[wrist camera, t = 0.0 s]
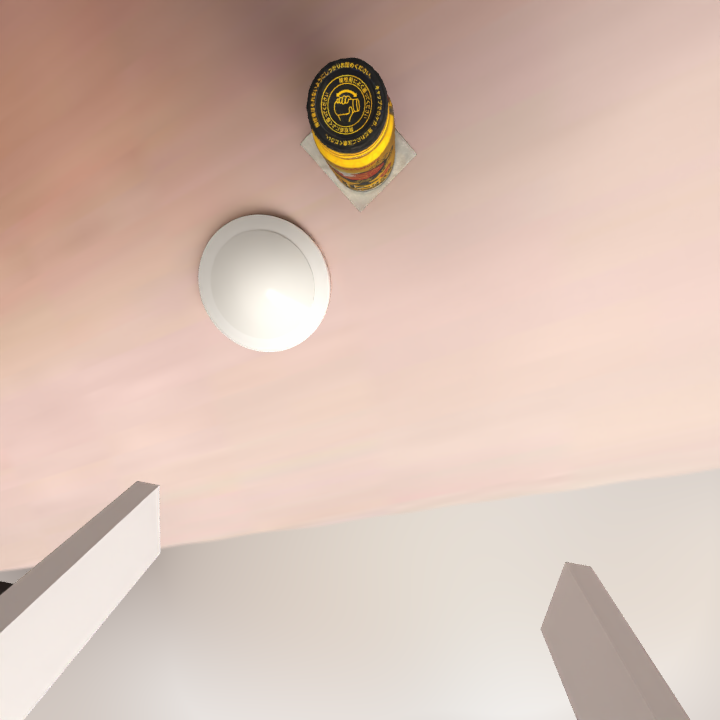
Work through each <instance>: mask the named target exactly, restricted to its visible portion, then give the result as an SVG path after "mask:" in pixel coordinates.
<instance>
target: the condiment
mask: <svg viewBox="0 0 720 720" xmlns="http://www.w3.org/2000/svg"><path fill="white" fill-rule="evenodd" d="M307 112H308V119H309V122H310V125H311V129H312V132H311V133H310V134H309V135H308V136H307V137H306V138H305V139H304V140H303V142H302V143H301V144H300V145H301V146H302V147H303V148H304V149H305V150H306V151H307V152H308V154H309V155H310V156H311V157H312V158H313V159H314V160H315V162H316V163H317V164H318V165H319V166H320V167H321V168H322V170H323V171H324V172H325V173H326V174H327V175H328V176H329V178H330V179H331V180H332V181H333V182H334V183H335V184H336V186H337V187H338V188H339V189H340V190H341V191H342V192H343V193H344V195H345V196H346V197H347V198H348V199H349V200H350V201H351V203H352V204H353V205H354V206H355V207H356V208H357V209H358V210H359V212H361V211H362V210H363V209H364V208H365V207H366V206H367V205H368V204H369V203H370V202H371V201H372V200H373V199H374V198H375V197H376V196H377V195H378V194H379V193H380V192H381V191H382V190H383V189H384V188H385V187H386V186H387V185H388V184H389V183H390V182H391V181H392V180H393V179H394V178H395V177H396V176H397V175H398V174H399V172H400V171H401V170H402V169H403V168H404V167H405V166H406V165H407V164H408V163H409V162H410V161H411V160H412V159H413V158H414V157H415V156H416V155H417V154H416V153H415V152H414V150H413V149H412V148H411V147H410V146H409V145H408V143H407V142H406V141H405V140H404V139H403V137H402V136H401V135H400V134H399V133H398V132H397V130H396V129H395V123H394V112H393V106H392V103H391V101H390V98H389V97H388V95H387V91H386V88H385V85H384V83H383V81H382V79H381V77H380V76H379V74H378V73H377V72H376V71H375V70H374V69H373V67H372V66H370V65H369V64H368V63H366V62H365V61H362V60H360V59H357V58H346V59H339V60H336V61H333V62H330V63H328V64H327V65H326V66H325V67H324V68H322V69H321V71H320V72H319V73H318V74H317V75H316V77H315V78H314V80H313V82H312V84H311V86H310V89H309V93H308V101H307Z"/></svg>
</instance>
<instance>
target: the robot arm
mask: <svg viewBox="0 0 720 720" xmlns="http://www.w3.org/2000/svg"><path fill="white" fill-rule="evenodd" d="M159 554H160V495H159V485H155V484H150V483H145V482H139V481H137V482H136V483H134V484H133V485H132V486H131V487H130V488H128V489H127V490H126V491H125V492H124V493H122V494H121V495H120V496H119V497H118V498H116V499H115V500H114V501H113V502H112V503H110V504H109V505H108V506H107V507H106V508H104V509H103V510H102V511H101V512H100V513H98V514H97V515H96V516H95V517H94V518H92V519H91V520H90V521H89V522H88V523H86V524H85V525H84V526H83V527H82V528H80V529H79V530H78V531H77V532H76V533H74V534H73V535H72V536H71V537H70V538H68V539H67V540H66V541H65V542H64V543H62V544H61V545H60V546H59V547H58V548H56V549H55V550H54V551H53V552H52V553H50V554H49V555H48V556H47V557H46V558H44V559H43V560H42V561H41V562H40V563H38V564H37V565H36V566H35V567H34V568H32V569H31V570H30V571H29V572H28V573H26V574H25V575H24V576H23V577H22V578H20V579H19V580H18V581H17V582H16V583H14V584H11V583H6V582H0V720H24V719H25V718H26V716H27V715H28V714H29V713H30V711H31V710H32V709H33V708H34V706H35V705H36V704H37V703H38V702H39V700H40V699H41V698H42V697H43V696H44V694H45V693H46V692H47V691H48V689H49V688H50V687H51V686H52V685H53V683H54V682H55V681H56V680H57V678H58V677H59V676H60V675H61V674H62V672H63V671H64V670H65V669H66V667H67V666H68V665H69V664H70V663H71V661H72V660H73V659H74V658H75V657H76V655H77V654H78V652H80V650H81V649H82V648H83V647H84V646H85V644H86V643H87V642H88V641H89V639H90V638H91V637H92V636H93V635H94V633H95V632H96V631H97V630H98V628H99V627H100V626H101V625H102V623H103V622H104V621H105V620H106V619H107V617H108V616H109V615H110V614H111V613H112V611H113V610H114V609H115V608H116V606H117V605H118V604H119V603H120V601H121V600H122V599H123V598H124V597H125V595H126V594H127V593H128V592H129V591H130V589H131V588H132V587H133V586H134V584H135V583H136V582H137V581H138V580H139V578H140V577H141V576H142V575H143V573H144V572H145V571H146V570H147V569H148V567H149V566H150V565H151V564H152V562H153V561H154V560H155V559H156V558H157V556H158V555H159ZM541 631H542V633H543V636H544V638H545V641H546V643H547V646H548V648H549V651H550V653H551V655H552V658H553V661H554V663H555V666H556V668H557V670H558V673H559V676H560V678H561V681H562V683H563V686H564V688H565V691H566V693H567V696H568V698H569V701H570V703H571V706H572V708H573V711H574V713H575V716H576V718H577V720H690V718H689V717H688V715H687V714H686V712H685V711H684V709H683V708H682V706H681V705H680V703H679V702H678V700H677V698H676V697H675V695H674V694H673V692H672V691H671V689H670V688H669V686H668V685H667V683H666V682H665V680H664V679H663V677H662V675H661V674H660V672H659V671H658V669H657V668H656V666H655V665H654V663H653V662H652V660H651V659H650V657H649V655H648V654H647V653H646V651H645V649H644V648H643V646H642V645H641V643H640V642H639V640H638V638H637V637H636V636H635V634H634V632H633V631H632V629H631V628H630V626H629V625H628V623H627V622H626V620H625V619H624V617H623V615H622V614H621V612H620V611H619V609H618V608H617V606H616V605H615V603H614V602H613V600H612V599H611V597H610V595H609V594H608V592H607V591H606V590H605V588H604V586H603V585H602V583H601V582H600V580H599V578H598V577H597V575H596V574H595V572H594V571H593V569H592V568H591V567H590V566H584V565H579V564H574V563H569V562H565V565H564V567H563V570H562V573H561V576H560V578H559V581H558V584H557V586H556V589H555V592H554V594H553V597H552V600H551V602H550V605H549V608H548V611H547V614H546V616H545V619H544V622H543V624H542V627H541Z"/></svg>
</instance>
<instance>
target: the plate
mask: <svg viewBox="0 0 720 720" xmlns="http://www.w3.org/2000/svg"><path fill="white" fill-rule="evenodd" d="M198 282H199V291H200V296H201V299H202V302H203V305H204V307H205V310H206V312H207V314H208V315H209V317H210V319H211V320H212V322H213V323H214V324H215V326H216V327H217V328H218V329H219V330H220V331H221V332H222V333H223V334H224V335H225V336H227V337H228V338H229V339H231V340H232V341H234V342H235V343H237V344H239V345H241V346H243V347H246V348H248V349H251V350H256V351H262V352H276V351H282V350H286V349H289V348H291V347H294V346H296V345H298V344H299V343H301V342H302V341H304V340H305V339H307V338H308V337H309V336H310V335H311V334H312V333H313V332H314V331H315V330H316V329H317V328H318V326H319V325H320V323H321V322H322V320H323V318H324V316H325V314H326V312H327V309H328V306H329V301H330V295H331V282H330V275H329V270H328V267H327V264H326V261H325V259H324V256H323V254H322V252H321V251H320V249H319V248H318V246H317V245H316V243H315V242H314V241H313V240H312V239H311V237H310V236H309V235H307V234H306V233H305V232H304V231H303V230H302V229H300V228H299V227H297V226H296V225H294V224H292V223H290V222H288V221H286V220H283V219H280V218H278V217H274V216H269V215H248V216H244V217H240V218H237V219H235V220H232V221H231V222H229V223H227V224H226V225H224V226H223V227H222V228H220V229H219V230H218V231H217V232H216V233H215V234H214V235H213V236H212V238H211V239H210V241H209V242H208V244H207V246H206V247H205V249H204V252H203V254H202V257H201V261H200V265H199V274H198Z"/></svg>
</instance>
